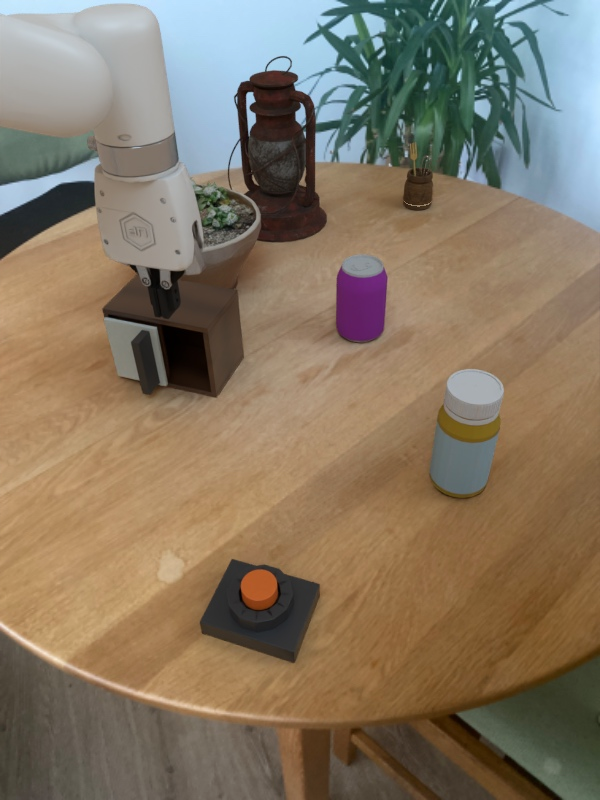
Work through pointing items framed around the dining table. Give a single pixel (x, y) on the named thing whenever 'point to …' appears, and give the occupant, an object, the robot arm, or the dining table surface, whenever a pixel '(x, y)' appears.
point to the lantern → (279, 156)
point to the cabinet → (189, 333)
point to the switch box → (261, 613)
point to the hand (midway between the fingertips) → (167, 311)
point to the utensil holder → (418, 184)
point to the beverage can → (361, 298)
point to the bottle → (466, 433)
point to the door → (137, 353)
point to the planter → (224, 233)
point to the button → (259, 589)
